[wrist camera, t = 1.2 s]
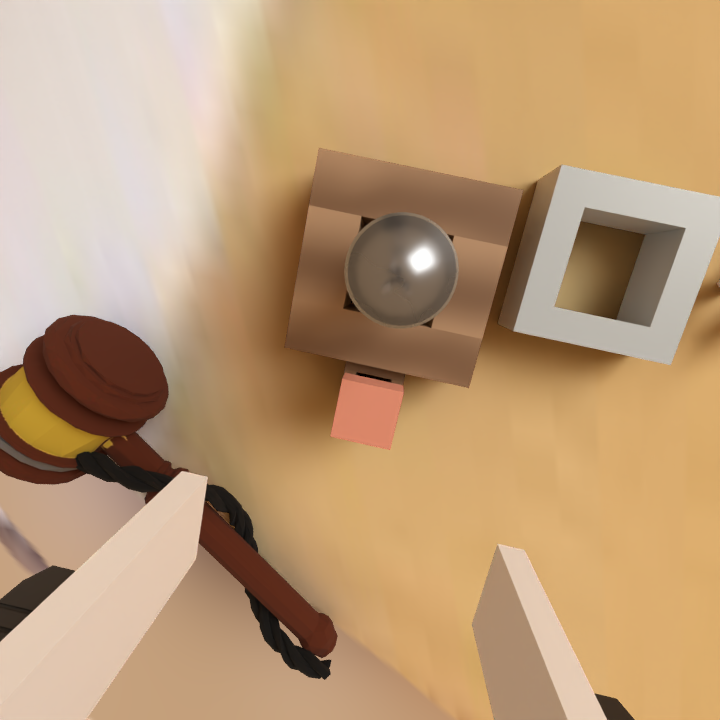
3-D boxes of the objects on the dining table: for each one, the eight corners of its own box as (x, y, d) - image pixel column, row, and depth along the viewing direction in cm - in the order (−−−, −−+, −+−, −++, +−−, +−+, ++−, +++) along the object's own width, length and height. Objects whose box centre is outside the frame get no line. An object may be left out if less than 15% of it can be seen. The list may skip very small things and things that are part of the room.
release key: (351, 359, 28) (342, 378, 23) (401, 370, 28) (403, 392, 23) (341, 406, 29) (330, 436, 24) (390, 417, 29) (390, 449, 24)
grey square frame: (537, 180, 28) (561, 164, 24) (685, 210, 28) (733, 199, 24) (497, 323, 30) (513, 331, 26) (633, 353, 30) (670, 365, 26)
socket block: (330, 169, 29) (318, 147, 24) (500, 204, 29) (523, 190, 24) (292, 385, 32) (274, 405, 27) (443, 419, 32) (453, 445, 27)
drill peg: (372, 236, 30) (355, 198, 15) (433, 249, 29) (475, 223, 15) (360, 297, 31) (332, 317, 16) (418, 309, 30) (445, 341, 16)
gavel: (373, 574, 38) (291, 627, 40) (93, 275, 31) (8, 354, 33) (377, 685, 28) (268, 750, 30) (-28, 287, 22) (-140, 399, 23)
